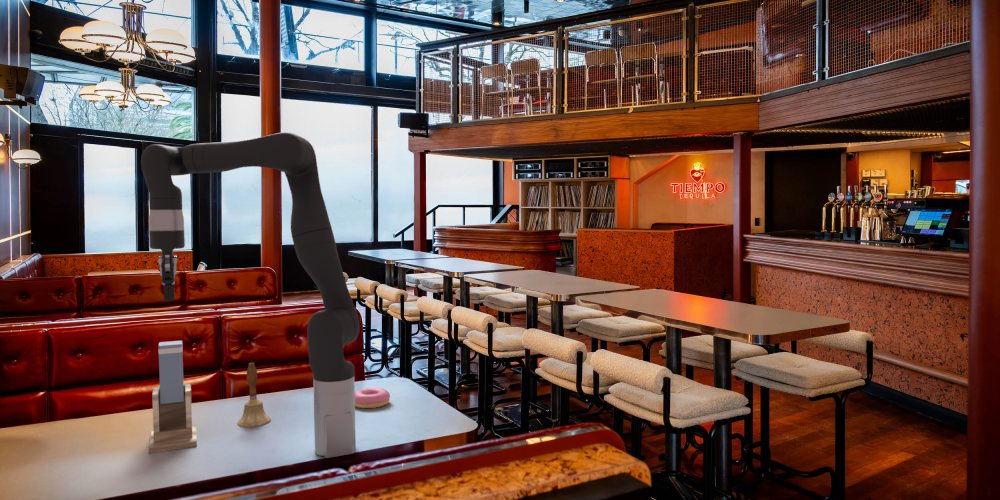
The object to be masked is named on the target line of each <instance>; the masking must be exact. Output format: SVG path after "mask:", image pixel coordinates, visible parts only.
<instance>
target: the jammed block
mask: <svg viewBox="0 0 1000 500" xmlns="http://www.w3.org/2000/svg"><path fill="white" fill-rule="evenodd" d="M157 350H158V368H159V370H158V371H159V387H160V404H165V403H173V402H182V401H184V384H185V383H184V361H183V358H184V357H183V353H184V352H183V340H173V341H172V340H171V341H159V343H158V349H157Z"/></svg>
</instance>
